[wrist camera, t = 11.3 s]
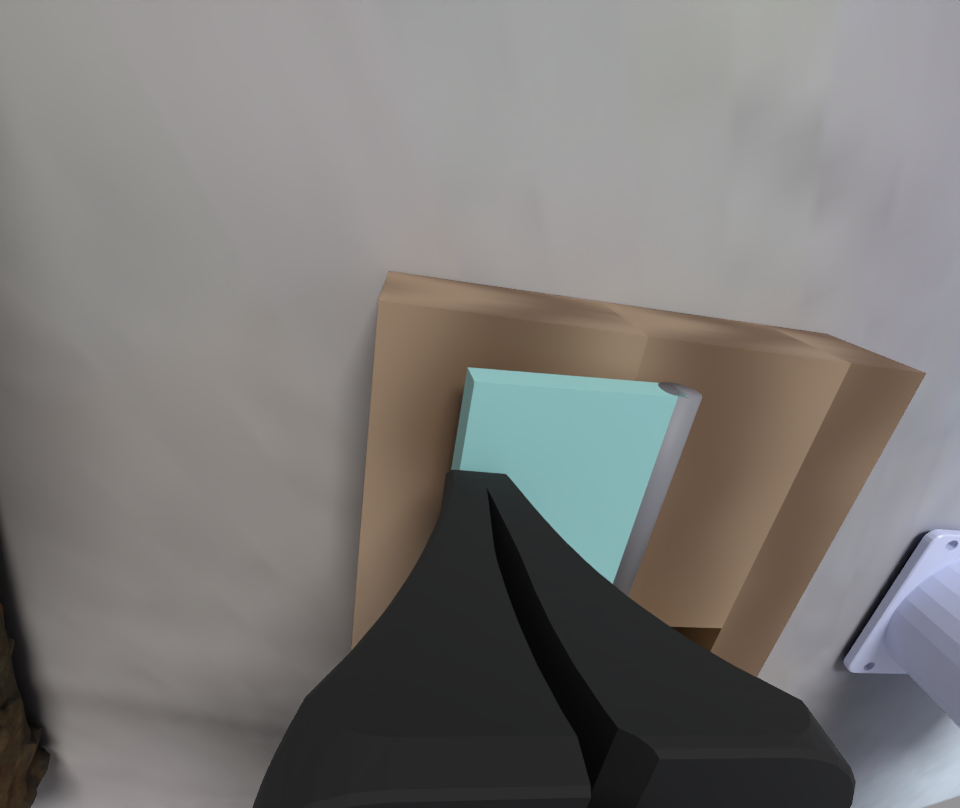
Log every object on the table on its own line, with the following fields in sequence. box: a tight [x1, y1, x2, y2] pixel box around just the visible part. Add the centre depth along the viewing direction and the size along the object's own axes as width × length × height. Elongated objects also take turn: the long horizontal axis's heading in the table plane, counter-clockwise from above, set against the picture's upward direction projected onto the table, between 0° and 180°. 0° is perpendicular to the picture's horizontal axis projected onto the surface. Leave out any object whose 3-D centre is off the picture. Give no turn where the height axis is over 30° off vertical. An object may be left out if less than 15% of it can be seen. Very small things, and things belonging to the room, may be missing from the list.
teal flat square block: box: [451, 367, 702, 596], centre depth 12 cm, size 6×6×1 cm
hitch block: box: [351, 271, 926, 677], centre depth 17 cm, size 14×16×4 cm
